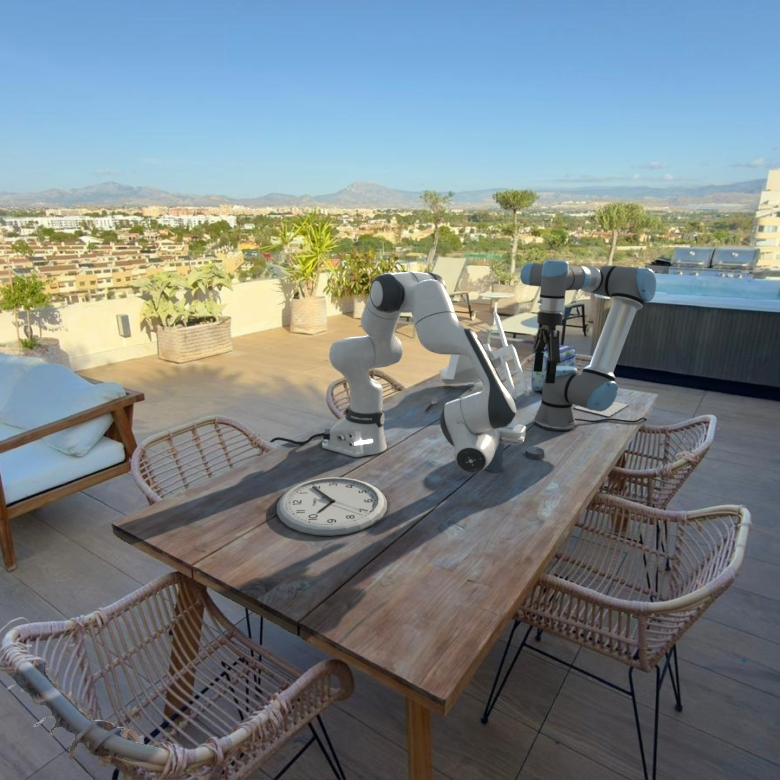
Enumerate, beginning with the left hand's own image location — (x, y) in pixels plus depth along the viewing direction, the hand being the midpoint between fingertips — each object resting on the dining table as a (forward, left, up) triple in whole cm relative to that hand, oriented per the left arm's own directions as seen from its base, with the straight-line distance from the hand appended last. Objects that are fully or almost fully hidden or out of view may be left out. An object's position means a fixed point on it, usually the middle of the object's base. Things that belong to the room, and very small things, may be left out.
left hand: (491, 420), depth 150 cm
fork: (-35, +62, -20) cm, 74 cm away
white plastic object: (-19, +90, -20) cm, 94 cm away
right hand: (+12, +27, +7) cm, 30 cm away
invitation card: (+34, +90, -20) cm, 98 cm away
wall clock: (-37, -28, -20) cm, 51 cm away
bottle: (0, +12, -20) cm, 23 cm away
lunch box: (+11, +108, -20) cm, 111 cm away
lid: (+11, +27, -19) cm, 35 cm away
